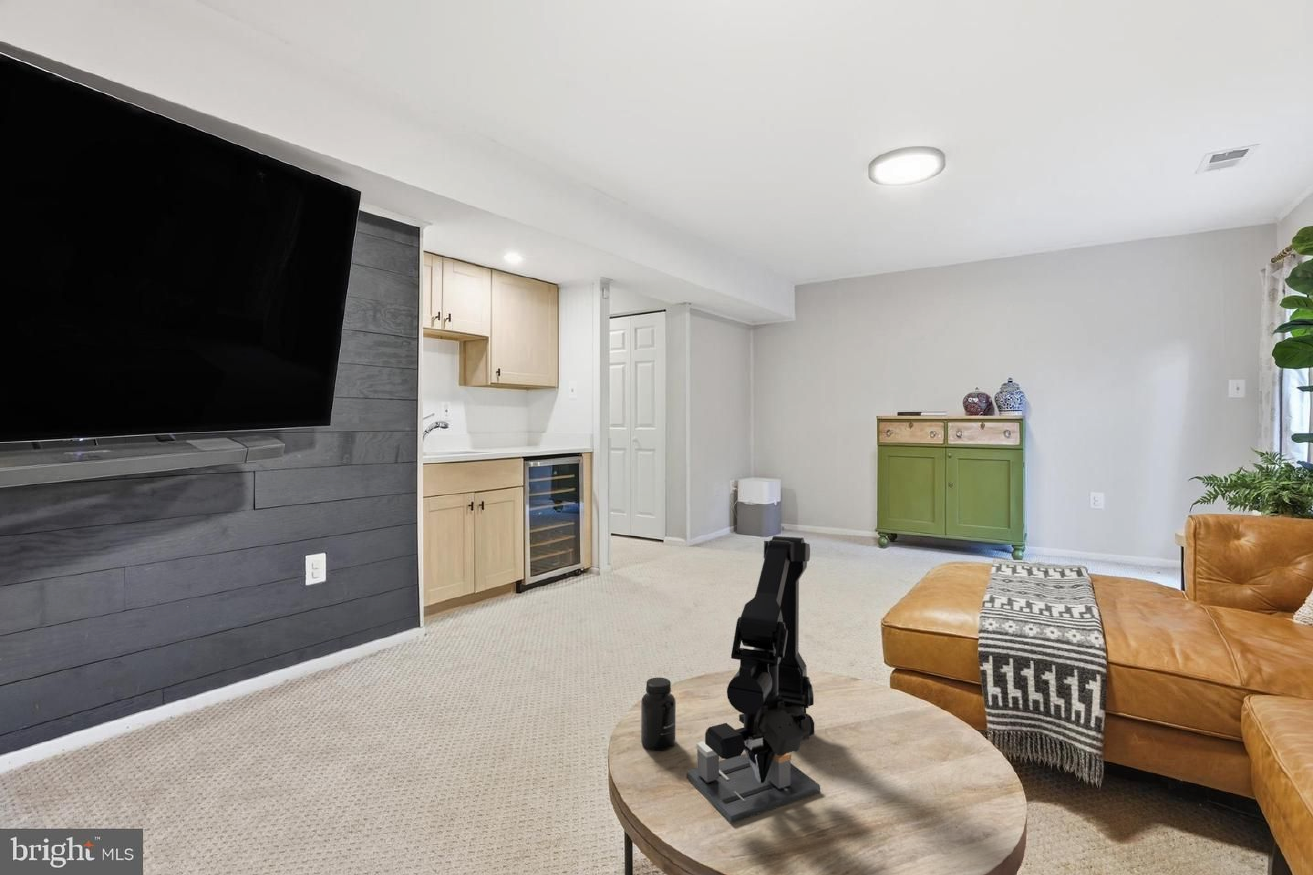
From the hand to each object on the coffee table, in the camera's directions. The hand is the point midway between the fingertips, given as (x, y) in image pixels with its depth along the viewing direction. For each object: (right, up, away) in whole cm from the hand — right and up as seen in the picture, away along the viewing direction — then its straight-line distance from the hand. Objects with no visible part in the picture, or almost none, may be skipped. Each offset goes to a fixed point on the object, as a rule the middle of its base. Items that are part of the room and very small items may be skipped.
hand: (760, 781), depth 99 cm
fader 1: (-9, -1, +4) cm, 9 cm away
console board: (-1, -2, +3) cm, 4 cm away
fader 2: (+3, -1, +2) cm, 4 cm away
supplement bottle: (-17, -3, +18) cm, 25 cm away
